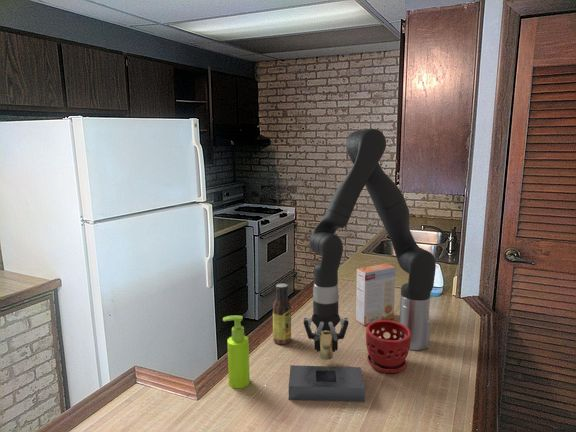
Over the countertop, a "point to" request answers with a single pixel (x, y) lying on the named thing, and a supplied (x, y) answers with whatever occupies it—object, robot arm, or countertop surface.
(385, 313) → the cracker box
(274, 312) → the sauce bottle
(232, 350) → the soap dispenser
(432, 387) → the countertop surface
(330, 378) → the jig
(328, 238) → the robot arm
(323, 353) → the gold cylinder
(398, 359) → the plant pot
